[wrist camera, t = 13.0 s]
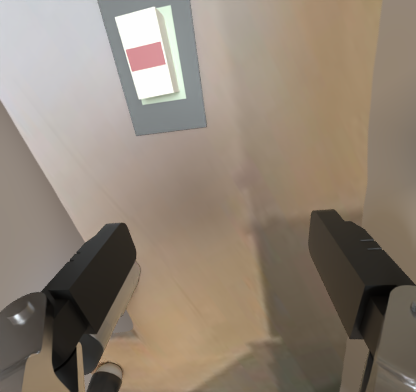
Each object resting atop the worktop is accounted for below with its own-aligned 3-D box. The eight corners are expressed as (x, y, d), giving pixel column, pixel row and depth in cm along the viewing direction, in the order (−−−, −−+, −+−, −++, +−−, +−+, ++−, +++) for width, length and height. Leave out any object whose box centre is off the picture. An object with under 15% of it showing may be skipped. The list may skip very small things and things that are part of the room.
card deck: (163, 16, 28) (154, 6, 24) (179, 91, 32) (173, 92, 28) (128, 25, 29) (114, 17, 25) (148, 97, 33) (138, 99, 29)
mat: (206, 126, 35) (206, 126, 34) (136, 135, 36) (135, 135, 36) (183, -47, 25) (182, -49, 25) (91, -24, 27) (89, -26, 27)
